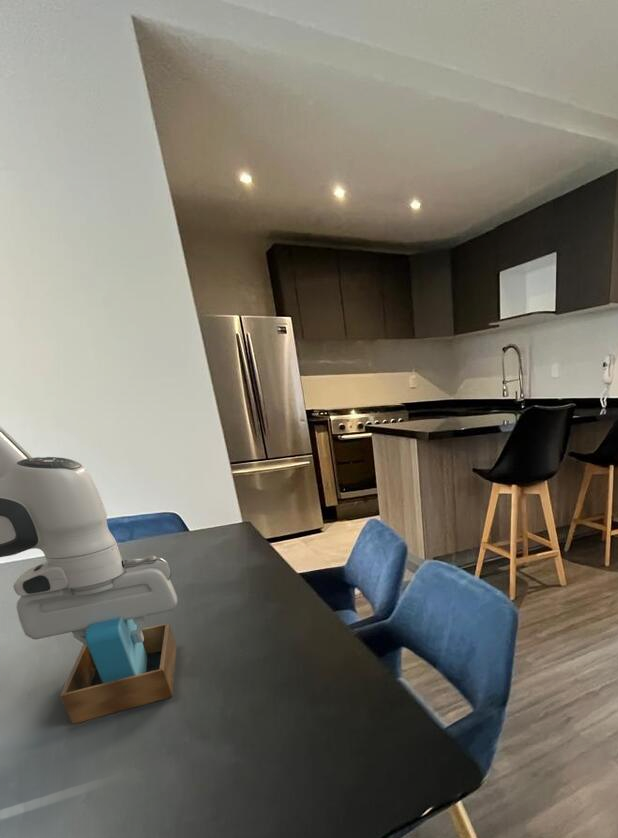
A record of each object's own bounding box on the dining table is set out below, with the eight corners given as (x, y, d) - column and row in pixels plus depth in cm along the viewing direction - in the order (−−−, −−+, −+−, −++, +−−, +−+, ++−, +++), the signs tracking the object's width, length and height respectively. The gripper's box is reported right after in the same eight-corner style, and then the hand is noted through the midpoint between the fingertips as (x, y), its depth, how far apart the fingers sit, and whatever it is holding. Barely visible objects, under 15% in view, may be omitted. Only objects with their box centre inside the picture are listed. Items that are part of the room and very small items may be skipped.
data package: (119, 667, 86) (96, 606, 82) (148, 660, 88) (127, 599, 83) (110, 703, 76) (83, 636, 72) (143, 694, 78) (118, 628, 73)
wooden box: (72, 724, 72) (59, 696, 70) (94, 665, 87) (84, 641, 85) (172, 696, 77) (163, 669, 75) (176, 646, 92) (169, 622, 90)
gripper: (166, 548, 81) (188, 622, 86) (12, 574, 73) (47, 654, 78) (164, 559, 76) (188, 637, 81) (-2, 588, 68) (37, 673, 73)
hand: (117, 646), depth 80 cm, fingers closed on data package, 4 cm apart
